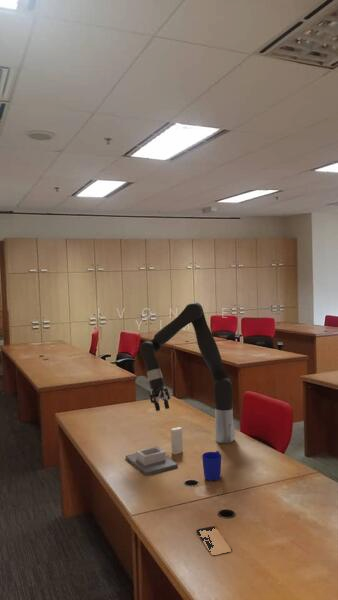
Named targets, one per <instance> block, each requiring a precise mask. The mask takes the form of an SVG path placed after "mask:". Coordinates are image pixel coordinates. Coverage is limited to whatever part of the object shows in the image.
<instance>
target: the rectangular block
mask: <svg viewBox="0 0 338 600" xmlns="http://www.w3.org/2000/svg"><path fill="white" fill-rule="evenodd" d="M170 442H171V443H170V444H171V446H170V447H171V454H173V455H177V454H181V453H184V448H183V446H184V444H183V442H184V440H183V428H182V427H180V426H177V427H174V428H171V429H170Z"/></svg>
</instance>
